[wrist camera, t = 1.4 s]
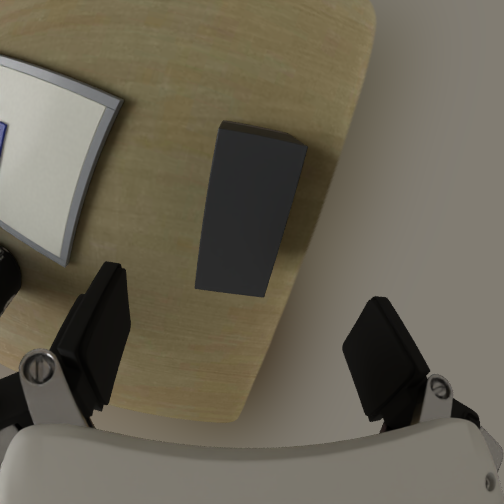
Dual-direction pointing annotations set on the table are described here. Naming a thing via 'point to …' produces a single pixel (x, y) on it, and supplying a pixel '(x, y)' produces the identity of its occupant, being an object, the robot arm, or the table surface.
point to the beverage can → (8, 278)
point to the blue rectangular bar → (2, 134)
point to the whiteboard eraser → (247, 207)
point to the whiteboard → (48, 152)
